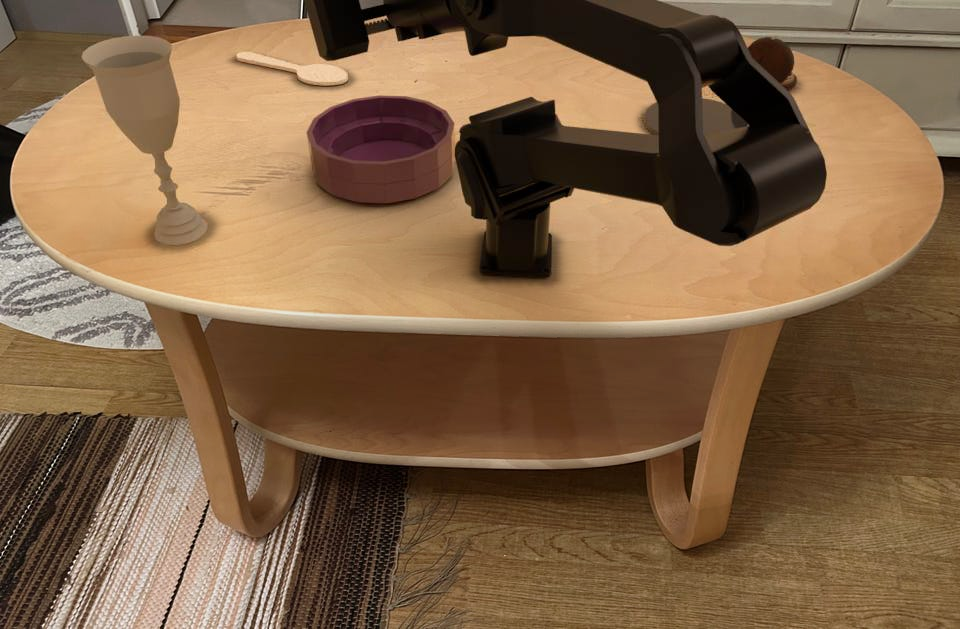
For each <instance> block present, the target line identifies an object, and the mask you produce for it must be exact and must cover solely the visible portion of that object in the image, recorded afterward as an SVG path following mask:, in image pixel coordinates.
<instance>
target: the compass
mask: <svg viewBox="0 0 960 629" xmlns="http://www.w3.org/2000/svg"><path fill="white" fill-rule="evenodd" d="M789 46H790V45H788V44H787V43H786V42H785V41H783V40H782V39H779V38H778V36H777V35H775V36H773V37H772V36H764V37H760V38H758V39H756V40H754V41H753V42H751V44H750V45H748V46H747V48H748V50H749V52H750V54H751V56H752V58H753V59H754V60H755V61H756V62H757V63H758V64H760V65H761V66H762V67H763V68H764V69H765V70H766V71H767V72H768V73H769V74H770V75H771V76H772V77H774V78H775V79H776V80H777V81H778V82H779V83H780V84H781V85H782V86H783V87H784V88H785V89H786V90H788V91H789V90H790V89H793V88H795V86H796V85H797V82H798V77H797V75H796V74H794V72H793V70H794V67H795V56H794V53H793V51H792V49H791V47H789Z"/></svg>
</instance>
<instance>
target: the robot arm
mask: <svg viewBox="0 0 960 629" xmlns="http://www.w3.org/2000/svg"><path fill="white" fill-rule="evenodd" d="M303 1H304V6H305V10H306V13H307V15H308V20H309V23H310V28H311V30H312V34H313V38H314V41H315V45H316V50H317V52H318V56H319V57H320V58H322V59H323V60H325V61H326V62H335V61H338V60H342V59H346V58H350V57H353V56H358V55H361V54H365V53H368V52H369V45H370V39H369V36H370V35H375V34H380V33H382V32H383V33H384V32H386V31H390V30H394V31H395V35H396V40H397V42H404V41H408V40H411V39H415V38H418V40H425V39H429V38H434V37H437V36H441V35H444V34H450V33H451V34H452V33H458V32H459V33H461V32H464V36H465V40H466V45H467V50H468V54H469V55H470V56H471V57H475V56H479V55H483V54H486V53H489V52H494V51H497V50H499V49H503V48H506V47H507V46H508V41H509V38H518V37H522V38H523V37H539V38H544V39H547V40H549V41H552V42H554V43H557V44H558V45H561V46H564V47H566V48H567V49H570V50H572V51H575V52H577V53H580V54H582V55H584V56H587V57H589V58H590V59H594V60H596V61H598V62H601V63H603V64H605V65H607V66H610V67H612V68H614V69H616V70H619V71H621V72H623V73H626V74H628V75H631V76H632V77H635V78H637V79H640V80H641V81H644V82H647V84H648V86H649V89H650V91H651V93H652V95H653V97H654V99H655V102H657V103H658V116H659V135H653V134H652V133H650V134H649V133H641V132H629V131H621V130H609V129H599V128H589V127H580V126H579V127H578V126H570V125H563V124H562V122H561V120H560V118H559V116H558V114H557V113H556V100H555V99H550V100H547V101H541V100H538V99H536V98H535V97H534V96H529V97H525V98H523V99H519V100H516V101H513V102H509V103H507V104H503V105H501V106H497V107H494V108H491V109H487V110H485V111H482V112H478V113H475V114H472V115H469V116H468V121H469V122H468V123H466V124H462V126H461V127H460V128H459V130H458V131H459V140H458V141H457V142H455V153H454V154H455V164H456V168H457V173H458V178H459V183H460V187H461V191H462V195H463V199H464V203H465V204H466V205H467V206H469V207H470V216H471V217H472V218H474V219H476V220H483V221H485V231H484V232H483V238H482V246H481V254H480V262H479V273H480V274H481V275H485V276H506V277H526V278H527V277H529V278H550V277H551V276H552V265H553V264H552V263H553V262H552V260H553V258H552V255H553V254H552V253H553V245H552V244H553V235H552V234H551V232H549V231H550V219H551V218H550V217H551V216H550V215H551V203H554V202H556V201H559V200H561V199H564V198H569V197H572V195H573V192H574V190H575V189H576V190H581V191H586V192H591V193H597V194H600V195H606V196H611V197H615V198H622V199H626V200H631V201H636V202H640V203H641V202H642V203H647V204H651V205H657V206H658V207H659V206H660V207H662V209H663V210H664V213H666V215H667V217H668V218H669V219H670V221H671V222H672V224H673V226H674V227H676V228H677V229H679V230H681V231H683V232H685V233H688V234H690V235H693V236H694V237H697V238H699V239H702V240H704V241H706V242H708V243H711V244H713V245H716V246H719V247H732V246H736V245H739V244H741V243H744V242H745V241H748V240H749V239H751V238H753V237H755V236H757V235H760V234H762V233H764V232H765V231H767V230H770V229H771V228H772V229H773V228H774V227H775V226H777V225H779V224H782V223H784V222H786V221H788V220H790V219H792V218H794V217H797V216H798V215H800V214H803V213H805V212H806V211H809V210H811V209H812V207H814V206H815V205H816V204H817V203H818V202H819V201H820V199H821V198H822V195H823V193H824V191H825V189H826V183H827V177H828V173H827V166H826V159H825V157H824V155H823V152H822V150H821V148H820V146H819V144H818V143H817V142H816V140H815V139H814V136H813V135H812V132H811V131H810V128H809V126H808V124H807V122H806V120H805V118H804V115H803V114H802V112H801V109H800V107H799V106H798V104H797V101H796V99H795V97H794V96H793V95H792V93H791V92H790V91H789V90H786V89H785V88H784V87H783V86H782V85H781V84H780V83H779V82H778V81H777V80H776V79H775V78H774V77H772V76H771V75H770V74H769V73H768V72H767V71H766V70H765V69H764V68H763V67H762V66H761V65H760V64H758V63H757V62H756V61H755V60H754V59H753V58H752V56H751V54H750V52H749V50H748V45H747V44H746V41H745V39H744V37H743V35H742V33H741V32H740V30H739V29H738V27H737V25H736V24H735V23H734V22H733V21H731V20H730V19H728V18H726V17H721V16H719V15H715V14H707V15H706V14H700V13H698V12H694V11H691V10H687V9H685V8H682V7H679V6H676V5H673V4H670V3H667V2H665V1H661V0H383V1H382V4H377V5H373V6H368V7H364V8H362V6H361V2H360V0H303ZM383 17H386V18H384V19H379V18H383ZM375 19H379V20H375ZM371 20H374V21H372V22H367V21H371ZM366 22H367V23H366ZM706 87H708V88H709V90H710V91H711V92H712V93H713V94H714V95H716V96H717V97H718V98H719V99H720V100H721V101H722V103H724V104H727V105H728V106H729V107H730V108H731V109H732V110H733V111H734V112H736V113H737V114H738V115H739V116H740V117H741V118H742V119H743V120H744V121H745V122H747V123H748V126H747V127H741V128H737V129H732V130H728V131H724V132H719V133H715V134H710V135H706V136H704V134H703V119H702V98H703V88H706Z"/></svg>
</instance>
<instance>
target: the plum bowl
mask: <svg viewBox="0 0 960 629" xmlns="http://www.w3.org/2000/svg"><path fill="white" fill-rule="evenodd" d="M455 128H456V127H455V121H454V120H453V119H452V117H451V116H450V114H449V112H448V111H447V110H445V109H444V108H443V107H440V106H438V105H437V104H434V103H433V102H432V101H429V100H425V99H420V98H415V97H413V96H412V97H411V96H406V95H383V94H382V95H372V96H371V95H370V96H365V97H357V98H353V99H349V100H346V101H344V102H341V103H338V104H335V105H332V106H329V107H328V108H327V109H325V110H324V111H322V112H321V113H319V114H318V115H316V116H315V117H313V119H312V121H310V125H309V126H308V128H307V130H306V138H307V144H308V150H309V157H310V163H311V169H312V172H313V175H314V179H315V182H316V184H317V185H318V186H320V187H321V188H322V189H323V190H325V191H326V192H328V193H329V194H330V195H332V196H334V197H337V198H342V199H344V200H348V201H352V202H354V203H355V202H356V203H370V204H371V203H372V204H392V203H396V202H402V201H409V200H414V199H417V198H419V197H422V196H424V195H426V194H428V193H430V192H433V191H435V190H438V189H439V188H441V186H443V185H444V184H445V182H447V181H448V180H449V179H450V178H451V177H453V174H454V171H455V170H454V169H455V166H456V165H455V164H456V159H455V154H454V153H455V146H456V132H455V130H456V129H455Z"/></svg>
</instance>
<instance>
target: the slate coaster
mask: <svg viewBox="0 0 960 629" xmlns="http://www.w3.org/2000/svg"><path fill="white" fill-rule="evenodd" d="M702 119H703V134H704V136H706V135H710V134H715V133H719V132H724V131H728V130H732V129H737V128H741V127H747V126H749V125H748V123H747V122H745V121H744V120H743V119H742V118H741V117H740V116H739V115H738V114H737V113H736V112H734V111H733V110H732V109H731V108H730V107H729V106H728V105H727V104H726V103H724V102H721V101H719V100H718V101H717V100H715V99H710V98H705V97H702ZM643 124H644V127H646V129H647V130H648V131H649V133H650V134H651V135H659V116H658V103H657V101H655V102H654V103H652V104H651V105H650V106H648V108H647V109H646V110H645V112H644V116H643Z"/></svg>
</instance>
